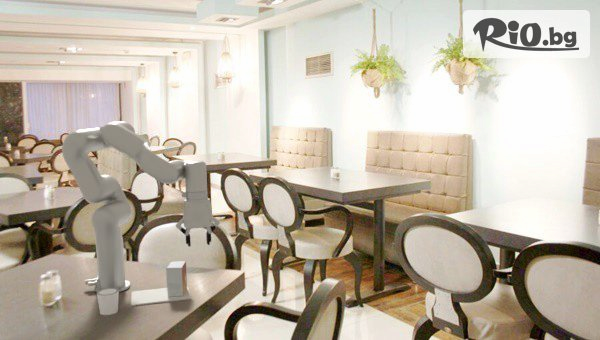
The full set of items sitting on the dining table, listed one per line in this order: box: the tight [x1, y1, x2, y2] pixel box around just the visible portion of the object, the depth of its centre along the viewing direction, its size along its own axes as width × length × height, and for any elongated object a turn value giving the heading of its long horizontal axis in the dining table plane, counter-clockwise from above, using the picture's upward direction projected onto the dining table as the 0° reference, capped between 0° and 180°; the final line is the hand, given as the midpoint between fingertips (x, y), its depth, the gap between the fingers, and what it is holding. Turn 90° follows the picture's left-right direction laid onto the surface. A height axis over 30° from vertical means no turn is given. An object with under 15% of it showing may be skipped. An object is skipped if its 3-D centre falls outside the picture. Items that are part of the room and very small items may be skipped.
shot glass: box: [96, 288, 120, 316], centre depth 173 cm, size 7×7×7 cm
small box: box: [165, 260, 188, 296], centre depth 188 cm, size 8×6×10 cm
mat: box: [130, 284, 192, 307], centre depth 187 cm, size 20×13×1 cm, turn 107°
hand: (198, 244), depth 188 cm, fingers open, 6 cm apart
